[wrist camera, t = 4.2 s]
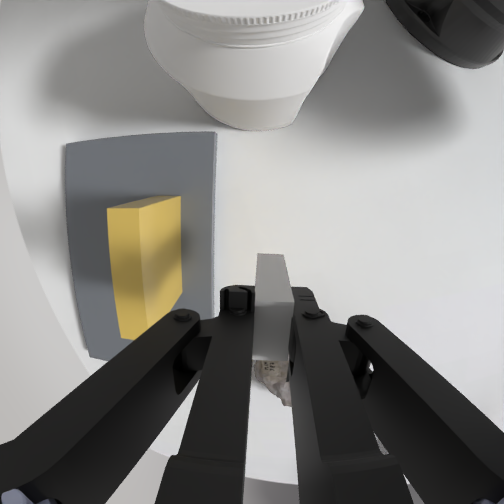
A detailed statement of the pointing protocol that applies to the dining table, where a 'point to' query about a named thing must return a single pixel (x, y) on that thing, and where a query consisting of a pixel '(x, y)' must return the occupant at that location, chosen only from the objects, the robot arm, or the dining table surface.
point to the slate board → (128, 190)
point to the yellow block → (145, 261)
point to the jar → (248, 53)
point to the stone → (274, 378)
